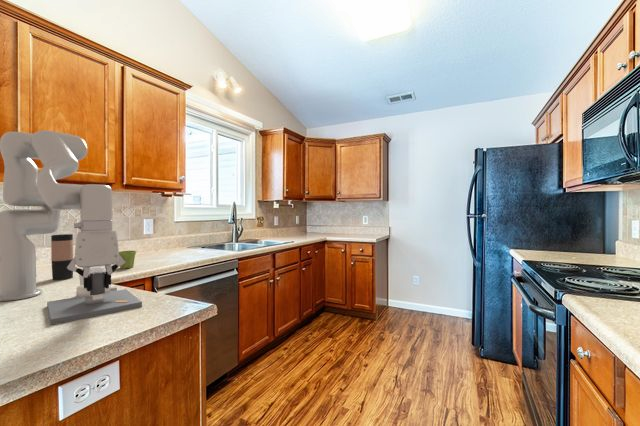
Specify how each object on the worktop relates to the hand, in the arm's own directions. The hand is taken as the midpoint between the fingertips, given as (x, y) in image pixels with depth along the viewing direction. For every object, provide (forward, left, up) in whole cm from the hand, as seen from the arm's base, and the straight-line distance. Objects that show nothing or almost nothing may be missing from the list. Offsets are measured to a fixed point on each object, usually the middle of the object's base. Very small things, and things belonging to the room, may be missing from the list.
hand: (97, 288), depth 89 cm
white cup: (-32, +3, -8) cm, 33 cm away
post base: (-12, +1, -8) cm, 14 cm away
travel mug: (-72, -3, -8) cm, 72 cm away
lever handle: (-8, +1, -4) cm, 9 cm away
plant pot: (-81, +24, -8) cm, 85 cm away
